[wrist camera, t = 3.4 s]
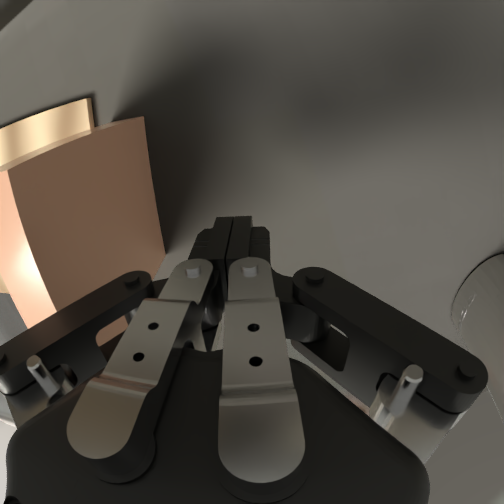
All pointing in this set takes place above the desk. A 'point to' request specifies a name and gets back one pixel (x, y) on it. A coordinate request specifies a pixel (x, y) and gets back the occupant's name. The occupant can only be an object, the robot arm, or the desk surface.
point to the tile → (78, 219)
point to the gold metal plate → (43, 134)
